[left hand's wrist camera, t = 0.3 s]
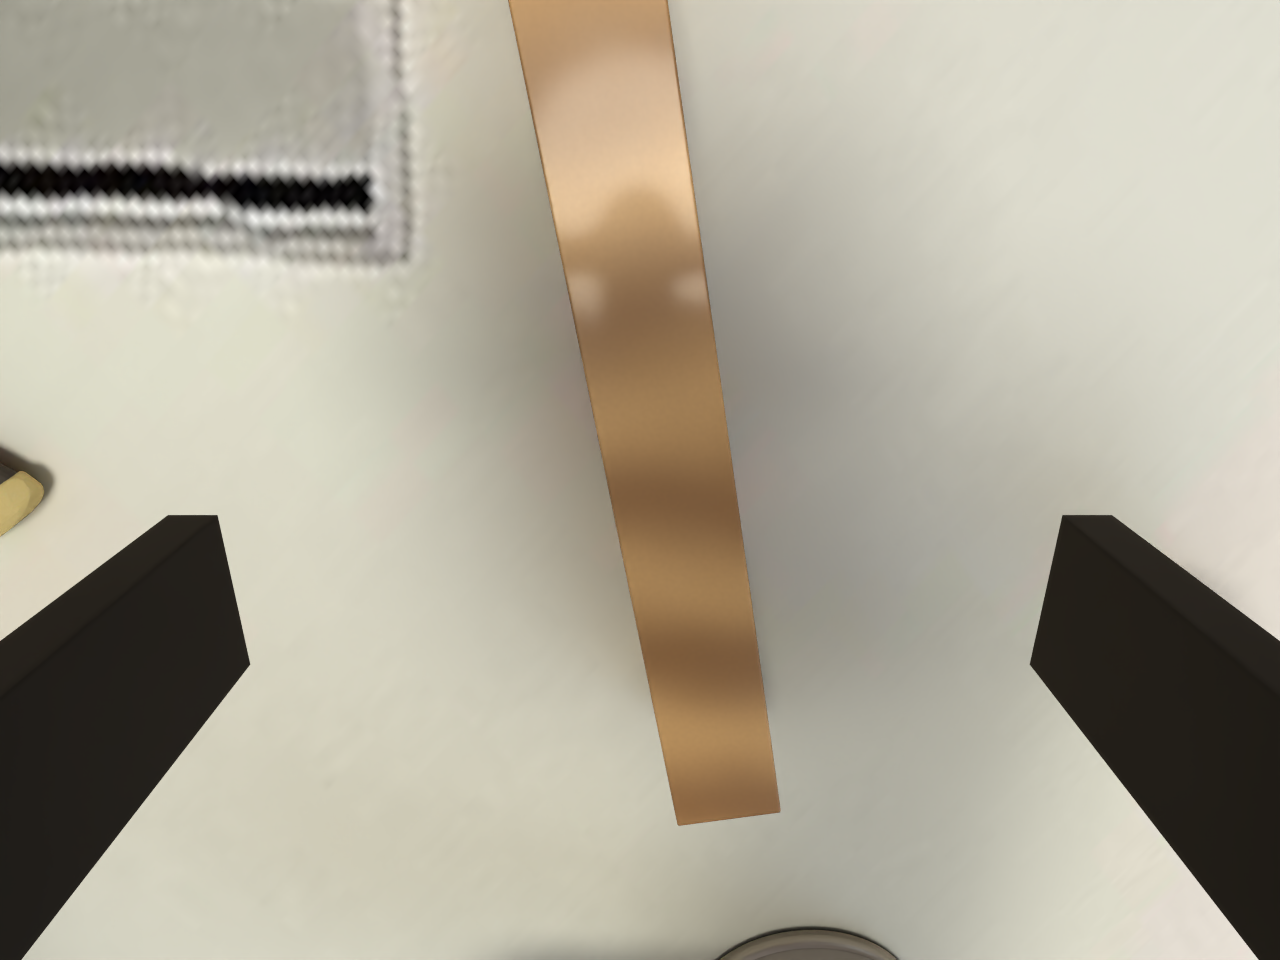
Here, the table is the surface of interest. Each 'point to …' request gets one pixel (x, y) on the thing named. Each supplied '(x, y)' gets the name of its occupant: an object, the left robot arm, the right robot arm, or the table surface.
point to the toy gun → (17, 496)
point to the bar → (653, 381)
